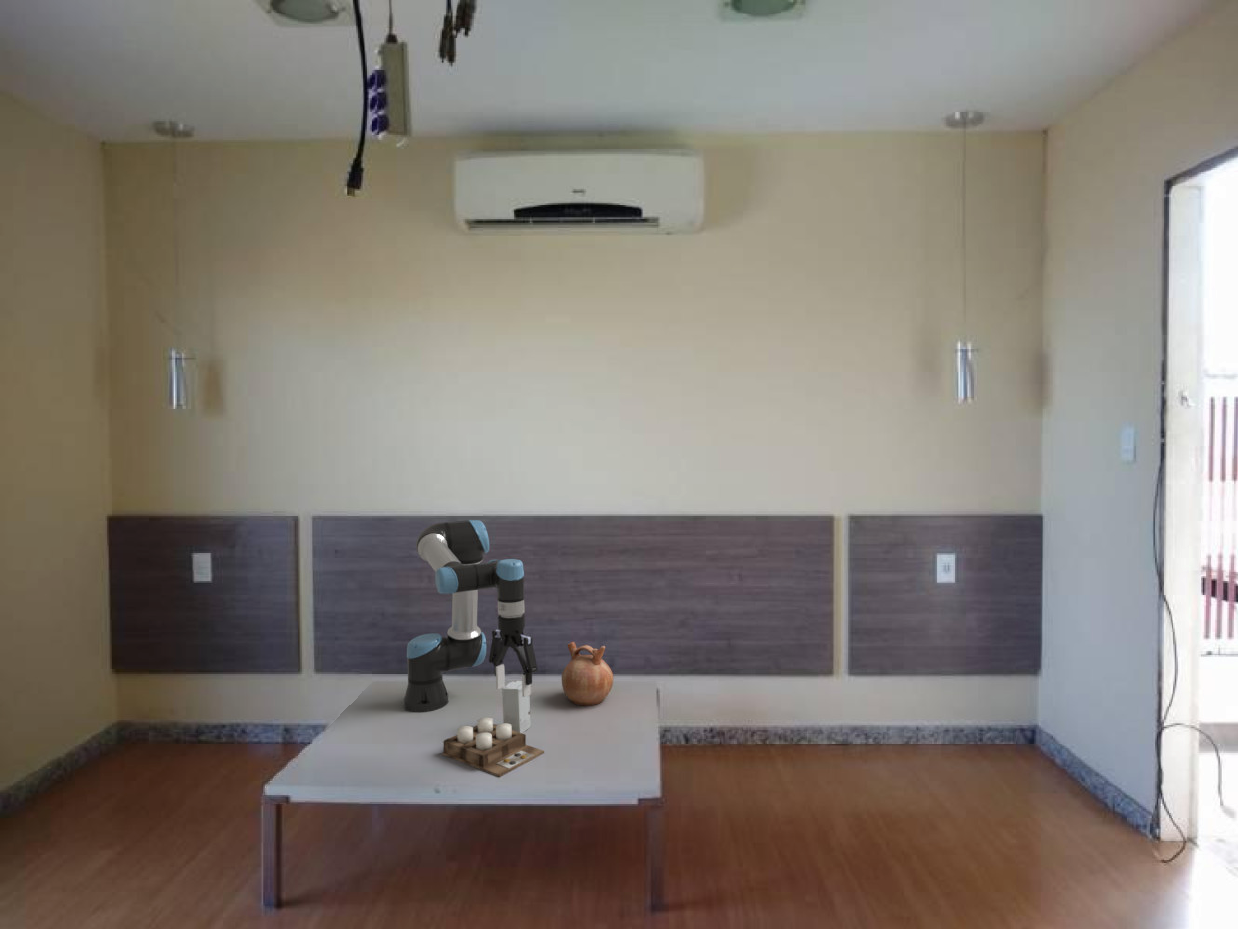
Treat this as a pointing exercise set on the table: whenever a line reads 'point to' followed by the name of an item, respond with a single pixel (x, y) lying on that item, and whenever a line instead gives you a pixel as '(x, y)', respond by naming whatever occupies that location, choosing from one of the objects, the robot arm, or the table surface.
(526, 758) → the board
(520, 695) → the skincare box
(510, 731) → the button
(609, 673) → the jug
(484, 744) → the button
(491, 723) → the button
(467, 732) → the button
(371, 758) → the table surface
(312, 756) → the table surface
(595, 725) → the table surface
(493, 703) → the table surface
